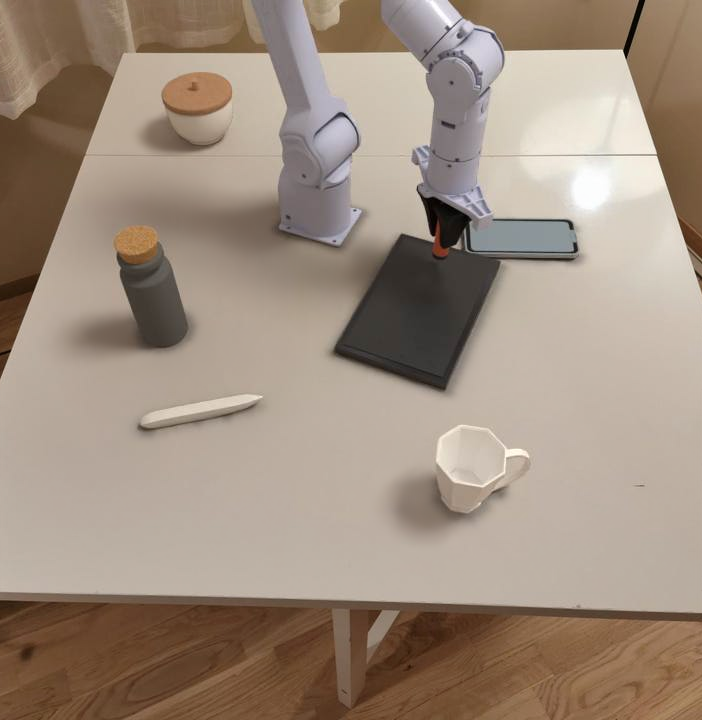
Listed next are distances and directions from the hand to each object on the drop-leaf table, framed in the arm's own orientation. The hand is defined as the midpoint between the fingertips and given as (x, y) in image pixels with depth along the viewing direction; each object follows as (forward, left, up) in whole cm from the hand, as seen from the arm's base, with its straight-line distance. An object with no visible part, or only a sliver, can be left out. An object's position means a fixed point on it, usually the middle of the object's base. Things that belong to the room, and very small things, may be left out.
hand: (443, 239), depth 89 cm
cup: (+14, -29, -6) cm, 33 cm away
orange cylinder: (0, 0, -3) cm, 3 cm away
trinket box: (-45, +15, -6) cm, 48 cm away
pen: (-17, -32, -6) cm, 37 cm away
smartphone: (+8, +10, -6) cm, 14 cm away
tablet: (0, -7, -6) cm, 9 cm away
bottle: (-28, -23, -6) cm, 37 cm away
